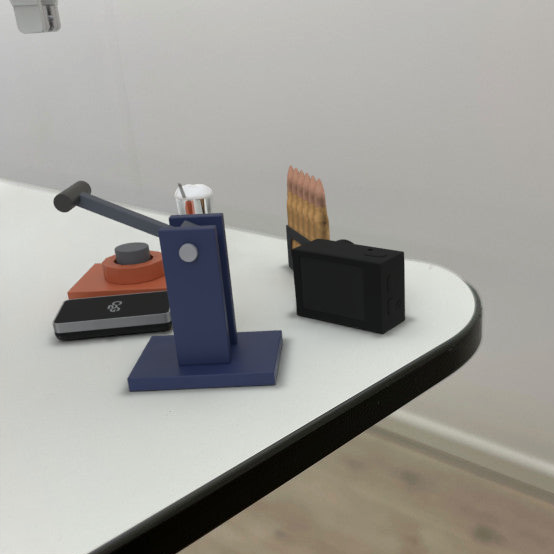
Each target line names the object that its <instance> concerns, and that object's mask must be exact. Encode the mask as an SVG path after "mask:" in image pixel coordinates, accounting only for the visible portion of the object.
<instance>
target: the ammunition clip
mask: <svg viewBox="0 0 554 554" xmlns="http://www.w3.org/2000/svg"><path fill="white" fill-rule="evenodd" d="M316 179H317V180H316ZM286 187H287V188H286V191H287V192H286V196H287V197H286V216H287V224H286V225H285V233H286V244H287V245H286V246H287V248H286V249H287V261H288V262H287V263H288V268H290V269H291V270H292V271H293V260H292V249H293V248H296V247H298V246H301V245H303V244H306V243H308V242H311V241H313V240H315V239H325V240H331V235H330V234H331V233H330V220H329V215H328V211H327V204H326V203H327V199H326V194H325V193H326V192H325V189H324V184H323V182H322V180H321V179H320V178H316V177H315V176H314V175H311V176H310V174H309V173H308V172H305V173H304V171H303V170H302V169H300V170H299V169H298V168H297V167H293V165H289V167H288V169H287V177H286Z"/></svg>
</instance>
